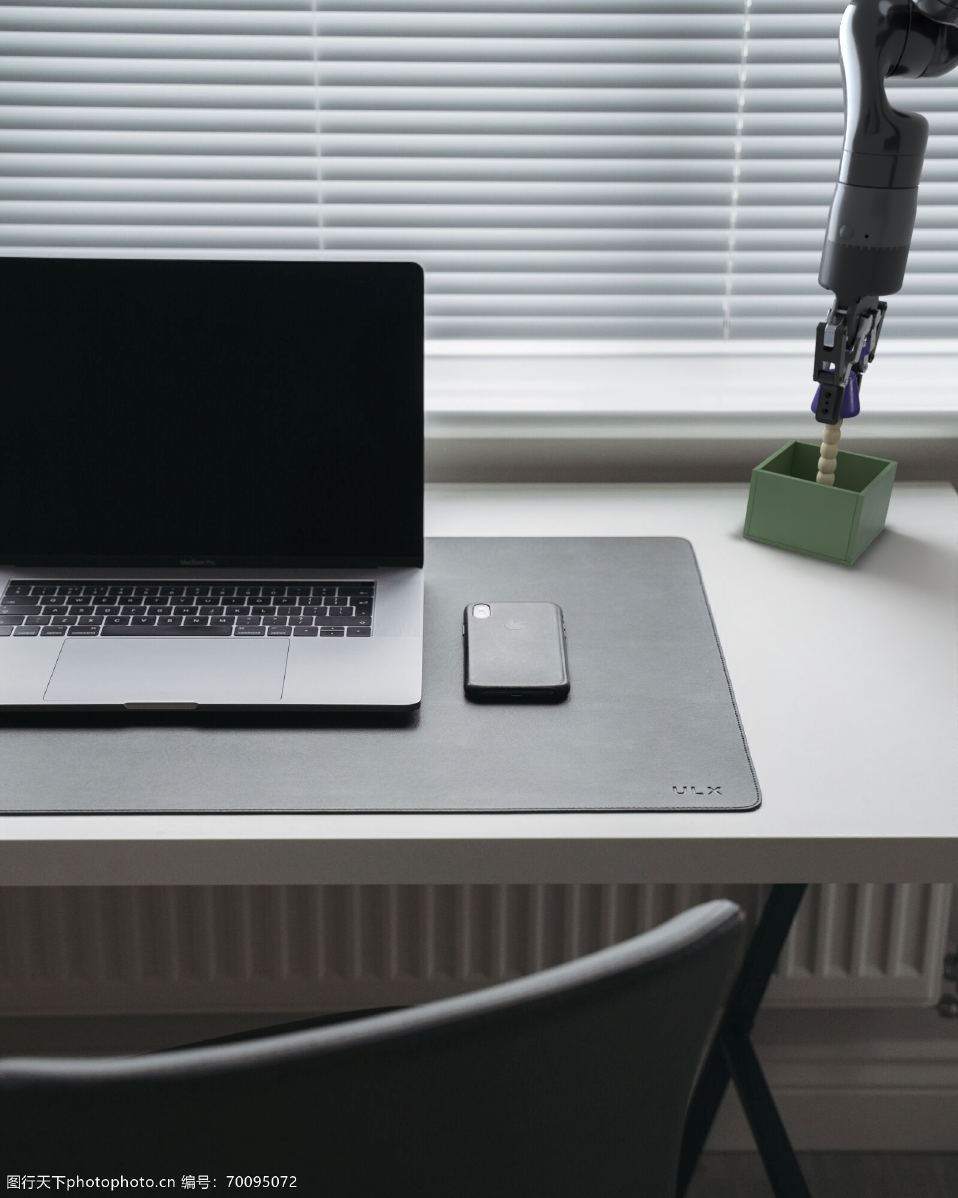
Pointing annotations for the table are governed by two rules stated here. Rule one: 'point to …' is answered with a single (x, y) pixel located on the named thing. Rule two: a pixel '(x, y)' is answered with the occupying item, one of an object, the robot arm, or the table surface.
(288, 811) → the table surface
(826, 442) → the toy lamp
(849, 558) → the bin
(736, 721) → the table surface
